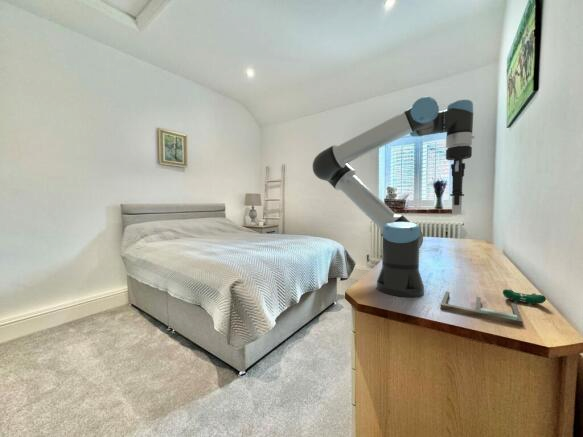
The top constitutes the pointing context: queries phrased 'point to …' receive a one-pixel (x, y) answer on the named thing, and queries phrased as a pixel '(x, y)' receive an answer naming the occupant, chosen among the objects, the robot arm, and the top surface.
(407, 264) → the robot arm
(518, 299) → the gaming controller
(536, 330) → the top surface
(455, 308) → the letter e shape
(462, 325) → the top surface
